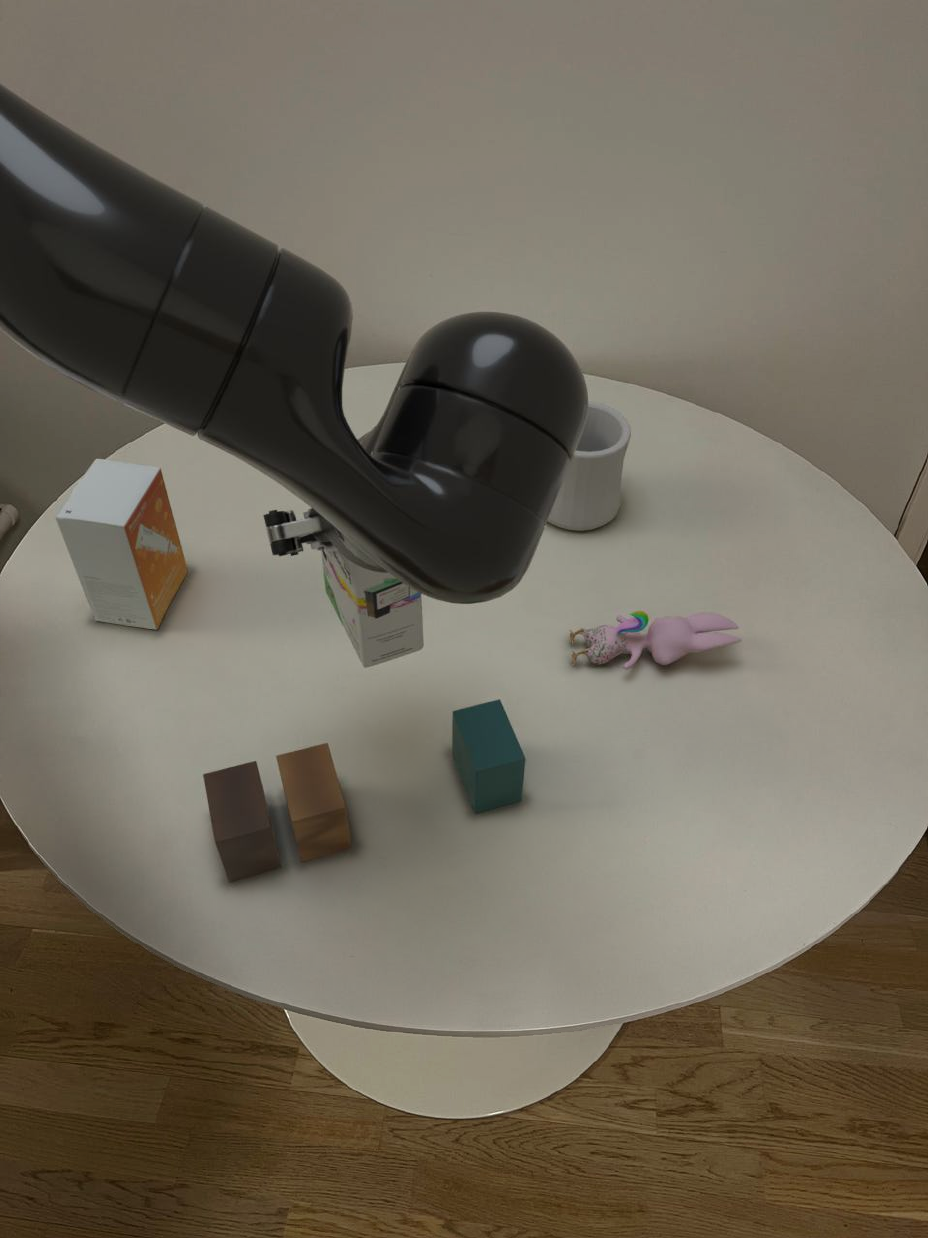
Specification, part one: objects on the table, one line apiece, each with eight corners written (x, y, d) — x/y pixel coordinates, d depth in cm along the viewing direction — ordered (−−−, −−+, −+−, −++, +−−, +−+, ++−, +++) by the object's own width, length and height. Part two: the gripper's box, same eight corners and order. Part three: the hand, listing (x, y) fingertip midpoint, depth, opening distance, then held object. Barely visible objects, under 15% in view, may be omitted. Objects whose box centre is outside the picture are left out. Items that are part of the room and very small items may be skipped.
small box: (158, 632, 92) (124, 527, 83) (93, 622, 93) (51, 517, 83) (190, 570, 98) (162, 465, 88) (129, 561, 98) (93, 456, 89)
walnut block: (228, 882, 76) (214, 842, 71) (216, 816, 79) (202, 773, 75) (281, 867, 76) (270, 827, 72) (266, 802, 80) (256, 760, 76)
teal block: (474, 814, 80) (476, 772, 75) (451, 754, 84) (452, 710, 79) (521, 801, 81) (526, 758, 76) (497, 742, 84) (500, 698, 80)
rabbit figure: (575, 690, 90) (745, 672, 88) (570, 647, 85) (749, 627, 84) (569, 637, 94) (732, 619, 92) (564, 594, 90) (735, 574, 88)
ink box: (323, 592, 77) (306, 471, 68) (384, 573, 78) (375, 453, 69) (362, 671, 71) (350, 551, 63) (426, 649, 73) (423, 529, 64)
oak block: (300, 862, 77) (291, 821, 72) (285, 798, 81) (275, 755, 76) (351, 848, 78) (345, 807, 73) (334, 785, 81) (327, 742, 77)
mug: (632, 492, 106) (646, 415, 98) (599, 545, 100) (611, 467, 93) (526, 457, 110) (531, 380, 102) (489, 506, 104) (491, 428, 97)
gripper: (510, 406, 55) (445, 450, 71) (248, 456, 52) (243, 490, 68) (539, 540, 55) (468, 553, 72) (281, 599, 52) (269, 598, 69)
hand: (359, 523), depth 70 cm, fingers closed on ink box, 5 cm apart
